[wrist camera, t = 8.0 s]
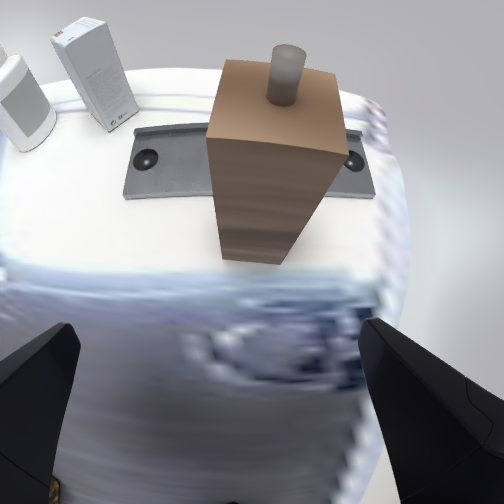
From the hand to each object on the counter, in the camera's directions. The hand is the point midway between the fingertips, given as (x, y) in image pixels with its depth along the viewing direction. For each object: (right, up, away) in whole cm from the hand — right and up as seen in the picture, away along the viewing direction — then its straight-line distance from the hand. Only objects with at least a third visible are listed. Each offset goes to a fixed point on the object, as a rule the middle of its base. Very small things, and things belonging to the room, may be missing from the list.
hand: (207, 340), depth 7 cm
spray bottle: (-26, +18, +17) cm, 36 cm away
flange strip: (+1, +11, +16) cm, 20 cm away
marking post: (+1, +4, +14) cm, 15 cm away
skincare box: (-14, +18, +18) cm, 29 cm away
